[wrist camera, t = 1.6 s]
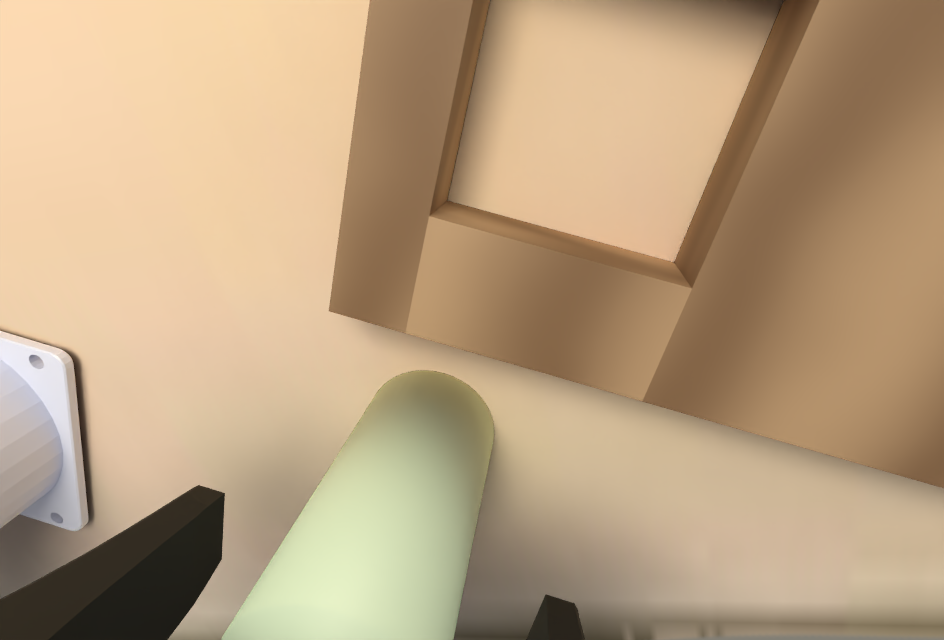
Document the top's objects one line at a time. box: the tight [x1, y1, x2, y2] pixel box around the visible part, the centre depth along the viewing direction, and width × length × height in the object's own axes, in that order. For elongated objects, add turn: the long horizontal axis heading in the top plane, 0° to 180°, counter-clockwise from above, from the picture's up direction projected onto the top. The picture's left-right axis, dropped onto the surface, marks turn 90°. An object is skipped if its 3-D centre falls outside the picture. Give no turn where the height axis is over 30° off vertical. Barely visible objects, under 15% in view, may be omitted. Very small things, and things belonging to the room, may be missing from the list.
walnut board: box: [329, 0, 944, 488], centre depth 11 cm, size 22×12×2 cm, turn 76°
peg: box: [222, 371, 494, 640], centre depth 13 cm, size 4×4×8 cm
